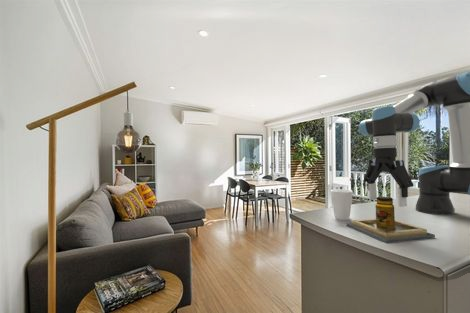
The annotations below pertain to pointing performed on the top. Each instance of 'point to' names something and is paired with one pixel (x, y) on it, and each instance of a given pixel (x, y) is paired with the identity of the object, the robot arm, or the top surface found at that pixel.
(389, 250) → the top surface
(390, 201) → the condiment
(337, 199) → the foam cup
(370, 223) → the wooden rimmed tray
